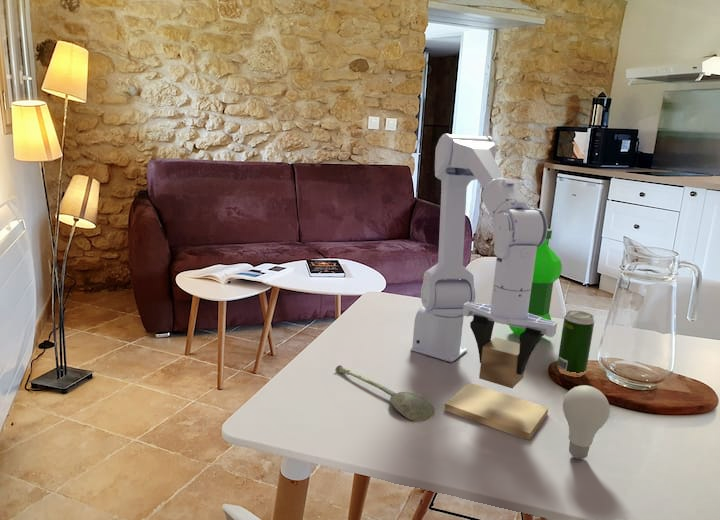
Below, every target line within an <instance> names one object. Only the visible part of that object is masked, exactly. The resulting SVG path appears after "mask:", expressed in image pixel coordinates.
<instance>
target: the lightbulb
mask: <svg viewBox="0 0 720 520" xmlns="http://www.w3.org/2000/svg"><path fill="white" fill-rule="evenodd" d="M610 408H611V407H610V403H609V401H608V398H607V397H606V395H605V394H604V393H603V392H602V391H600V390H599V389H598V388H595V387H594V386H591V385H584V384H583V385H578V386H574V387H573V388H570V390H568V391H567V392H566V394H565V395H564V397H563V400H562V410H563V414H564V417H565V419H566V422H567V425H568V439H569V444H568V452H569V454H570V455H571V456H572V457H573V458H575V459H577V460H581V459H586V458H587V457H588V454H589V451H590V447H591V446H592V444H593V442H594V438H595V435H596V434H597V433H598V431H599V430H600V429H601V428H602V427H603V426H604V425H605V424H606V423H607V421H608V419H609V417H610V413H611V410H610Z"/></svg>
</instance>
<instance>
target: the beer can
mask: <svg viewBox="0 0 720 520" xmlns="http://www.w3.org/2000/svg"><path fill="white" fill-rule="evenodd" d="M594 318H595V316H594V314H592V313H589V312H587V311H582V310H575V309H574V310H573V309H572V310H567V311H566V313H565V315H564V317H563V325H562V330H561V336H560V337H561V338H560V344H559V349H558V355H557V364H556V367H557V366H558V367H559V368H560V369H562V370H565V371H569V372H576V373H580V372H584V371H586V372H587V369H588V362H589V356H590V352H591V351H590V350H591V345H592V344H591V343H592V339H593V338H592V337H593V333H594V327H595V326H594V325H595V320H594Z"/></svg>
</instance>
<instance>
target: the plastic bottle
mask: <svg viewBox="0 0 720 520" xmlns="http://www.w3.org/2000/svg"><path fill="white" fill-rule="evenodd" d="M552 233H553V230H552V228H548V231H547V236H546V239H545V241H544V243H543V244H542V245H541V246H539V247H537V250H536V258H535V265H534V272H533V280H532V287H531V294H530V302H529V309H528V313H530V314H533V315H536V316H539V317H541V318H544V319H547V320H550V321H552V317H551V314H550V309H551V308H550V307H551V302H552V301H551V300H552V294H553V288H554V282H556V281H557V280H558V279H559V278H560V276H561V274H562V270H563V266H562V261H561V259H560V257H559V256H558V255H557V253H555V252H554V250H553V249H552V248H551V247H550V246H549V244H548V243H549V240H550V239H551V240H552ZM508 327H509V328H510V330H511V331H512V332H513V334H515V335H516V337H518V338H519V337H520V334H521V333H523V332H524V331H525V329H522V328H518V327H514V326H510V325H508ZM543 336H546V335H545V334H544V335H543ZM543 336H542V337H543Z"/></svg>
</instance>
